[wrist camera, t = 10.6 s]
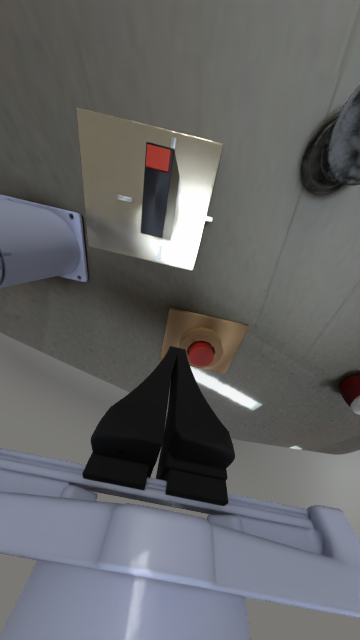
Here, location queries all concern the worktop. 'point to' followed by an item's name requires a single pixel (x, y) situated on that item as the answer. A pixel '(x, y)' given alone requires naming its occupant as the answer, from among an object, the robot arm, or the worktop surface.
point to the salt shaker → (335, 151)
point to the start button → (201, 353)
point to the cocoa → (351, 392)
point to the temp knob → (159, 191)
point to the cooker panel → (127, 187)
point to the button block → (204, 336)
